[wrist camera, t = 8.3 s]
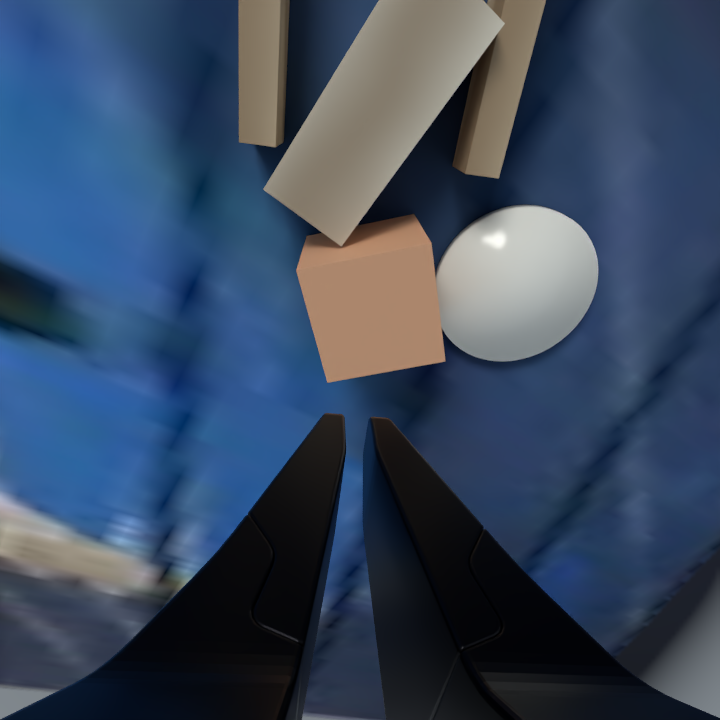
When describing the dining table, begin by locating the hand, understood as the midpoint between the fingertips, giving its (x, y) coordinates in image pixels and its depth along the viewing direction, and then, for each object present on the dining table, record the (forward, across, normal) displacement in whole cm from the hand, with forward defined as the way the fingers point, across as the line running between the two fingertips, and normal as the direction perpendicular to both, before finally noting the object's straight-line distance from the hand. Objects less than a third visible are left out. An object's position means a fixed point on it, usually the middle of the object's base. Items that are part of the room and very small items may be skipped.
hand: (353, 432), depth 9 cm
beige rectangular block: (+12, 0, -6) cm, 13 cm away
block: (+12, -1, 0) cm, 12 cm away
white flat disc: (+11, -7, 0) cm, 14 cm away
